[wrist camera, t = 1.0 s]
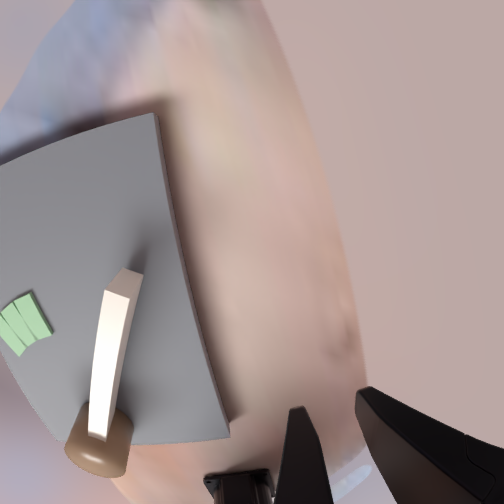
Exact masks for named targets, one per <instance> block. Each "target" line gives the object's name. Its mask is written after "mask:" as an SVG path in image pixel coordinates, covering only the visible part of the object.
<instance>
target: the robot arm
mask: <svg viewBox="0 0 504 504" xmlns="http://www.w3.org/2000/svg"><path fill="white" fill-rule="evenodd" d="M355 414H356V417H357V420H358V422H359V425H360V427H361V430H362V433H363V435H364V438H365V440H366V443H367V446H368V448H369V451H370V453H371V456H372V458H373V460H374V462H375V464H376V465H377V467H378V469H379V471H380V473H381V475H382V476H383V478H384V480H385V482H386V484H387V486H388V488H389V489H390V491H391V493H392V495H393V497H394V499H395V501H396V502H397V504H504V449H503V448H500V447H497V446H494V445H491V444H488V443H486V442H483V441H481V440H478V439H476V438H474V437H471V436H469V435H465V434H464V433H463V432H460V431H458V430H456V429H454V428H452V427H450V426H448V425H445V424H444V423H442V422H439V421H437V420H435V419H433V418H431V417H429V416H427V415H425V414H423V413H421V412H419V411H417V410H415V409H413V408H411V407H409V406H407V405H405V404H404V403H402V402H400V401H398V400H396V399H394V398H392V397H390V396H388V395H386V394H384V393H383V392H381V391H379V390H377V389H375V388H373V387H371V386H368V387H365V388H362V389H359V390H358V391H357V392H356V401H355ZM203 482H204V484H205V486H206V487H207V489H208V491H209V492H210V494H211V495H212V497H213V499H214V504H334V502H333V498H332V493H331V489H330V484H329V480H328V475H327V470H326V466H325V461H324V457H323V453H322V448H321V444H320V440H319V437H318V435H317V432H316V430H315V428H314V426H313V424H312V421H311V419H310V417H309V415H308V413H307V411H306V408H305V407H304V406H299V407H295V408H291V409H290V410H289V416H288V423H287V429H286V436H285V442H284V448H283V454H282V460H281V466H280V472H279V477H278V483H277V488H276V493H275V492H274V488H273V484H272V480H271V476H270V472H269V470H268V469H262V470H256V471H250V472H244V473H237V474H229V475H221V476H211V477H205V478H203ZM272 497H275V498H274V503H273V502H272Z"/></svg>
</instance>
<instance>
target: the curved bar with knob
mask: <svg viewBox="0 0 504 504" xmlns="http://www.w3.org/2000/svg"><path fill="white" fill-rule="evenodd" d="M143 276H144V275H142V274H139V273H137V272H134V271H131V270H128V269H125V268H122V269H121V270H120V271H119V273H118V274H117V275H116V276H115V277H114V279H113V280H112V281H111V282H110V284H109V285H108V286H107V287H106V288H105V290H104V295H103V300H102V306H101V312H100V317H99V323H98V330H97V337H96V344H95V351H94V359H93V368H92V378H91V389H90V402H88V403H85V404H84V405H82V407H81V408H80V410H79V413H78V415H77V417H76V420H75V422H74V425H73V427H72V429H71V432H70V434H69V437H68V439H67V442H66V444H65V449H64V450H65V453H66V455H67V456H68V458H69V459H70V460H71V461H72V462H73V463H74V464H76V465H77V466H78V467H80V468H81V469H83V470H85V471H87V472H89V473H91V474H94V475H97V476H101V477H106V478H117V477H121V476H122V475H124V473H125V471H126V466H127V461H128V455H129V451H130V446H131V441H132V436H133V432H134V427H133V424H132V422H131V420H130V419H129V418H128V417H127V416H126V415H125V414H124V413H123V412H122V411H120V410H119V409H117V408H115V407H116V401H117V395H118V389H119V383H120V377H121V372H122V366H123V361H124V356H125V351H126V347H127V342H128V337H129V333H130V328H131V324H132V319H133V315H134V311H135V307H136V303H137V299H138V295H139V291H140V287H141V283H142V280H143Z"/></svg>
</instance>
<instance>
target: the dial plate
mask: <svg viewBox="0 0 504 504" xmlns="http://www.w3.org/2000/svg"><path fill="white" fill-rule="evenodd" d="M122 268H125V269H128V270H131V271H134V272H137V273H139V274H142V275H144V276H143V280H142V283H141V287H140V291H139V295H138V299H137V303H136V307H135V311H134V315H133V319H132V324H131V328H130V333H129V337H128V342H127V347H126V351H125V356H124V361H123V366H122V372H121V377H120V383H119V389H118V395H117V401H116V407H115V408H117V409H119V410H120V411H122V412H123V413H124V414H125V415H126V416H127V417H128V418H129V419H130V420H131V422H132V424H133V427H134V432H133V436H132V441H131V445H156V444H175V443H188V442H199V441H208V440H216V439H224V438H230V429H229V422H228V419H227V416H226V413H225V410H224V407H223V404H222V400H221V397H220V394H219V391H218V387H217V384H216V381H215V377H214V374H213V370H212V367H211V363H210V360H209V356H208V353H207V349H206V346H205V342H204V338H203V334H202V331H201V327H200V323H199V319H198V315H197V311H196V307H195V303H194V299H193V295H192V291H191V287H190V283H189V278H188V274H187V270H186V265H185V261H184V257H183V252H182V247H181V243H180V238H179V233H178V228H177V223H176V218H175V213H174V208H173V203H172V198H171V192H170V187H169V181H168V176H167V170H166V164H165V158H164V151H163V145H162V139H161V132H160V125H159V118H158V116H157V115H156V114H155V113H153V112H152V113H148V114H144V115H140V116H136V117H132V118H128V119H125V120H121V121H117V122H114V123H111V124H107V125H104V126H101V127H97V128H94V129H91V130H88V131H85V132H82V133H79V134H76V135H73V136H70V137H68V138H65V139H62V140H59V141H57V142H54V143H52V144H49V145H46V146H44V147H41V148H39V149H37V150H34V151H32V152H29V153H27V154H25V155H23V156H20V157H18V158H16V159H14V160H11V161H9V162H7V163H5V164H3V165H1V166H0V351H1V353H2V355H3V357H4V359H5V361H6V363H7V364H8V367H9V368H10V370H11V372H12V374H13V376H14V377H15V379H16V381H17V382H18V384H19V386H20V388H21V389H22V391H23V392H24V394H25V396H26V397H27V399H28V401H29V402H30V403H31V405H32V407H33V408H34V410H35V411H36V413H37V414H38V416H39V417H40V419H41V420H42V421H43V423H44V424H45V426H46V427H47V428H48V430H49V431H50V433H51V434H52V435H53V437H54V438H55V439H56V440H57V441H63V442H67V439H68V437H69V434H70V432H71V429H72V427H73V425H74V422H75V420H76V417H77V415H78V413H79V410H80V408H81V407H82V405H84V404H85V403H88V402H90V389H91V378H92V368H93V359H94V351H95V344H96V337H97V330H98V323H99V317H100V312H101V306H102V300H103V295H104V290H105V288H106V287H107V286H108V285H109V284H110V282H111V281H112V280H113V279H114V277H115V276H116V275H117V274H118V273H119V271H120V270H121V269H122Z"/></svg>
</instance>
